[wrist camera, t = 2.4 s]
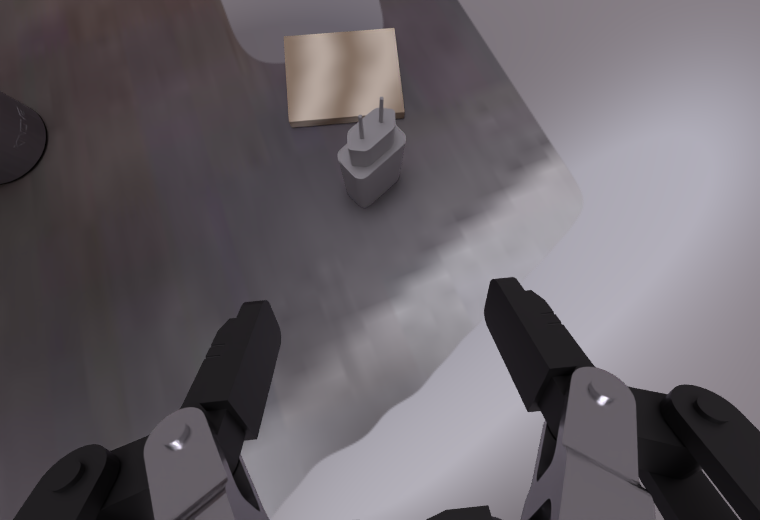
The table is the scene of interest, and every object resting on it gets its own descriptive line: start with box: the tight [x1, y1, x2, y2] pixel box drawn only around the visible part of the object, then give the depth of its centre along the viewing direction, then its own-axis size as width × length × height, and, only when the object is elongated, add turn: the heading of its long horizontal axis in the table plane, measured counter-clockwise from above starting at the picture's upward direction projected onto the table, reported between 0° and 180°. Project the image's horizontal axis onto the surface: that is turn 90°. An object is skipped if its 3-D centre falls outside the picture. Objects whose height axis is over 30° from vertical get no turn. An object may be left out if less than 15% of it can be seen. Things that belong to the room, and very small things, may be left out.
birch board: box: [284, 28, 404, 128], centre depth 31 cm, size 12×10×1 cm
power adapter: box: [338, 97, 406, 208], centre depth 24 cm, size 3×5×12 cm, turn 133°
